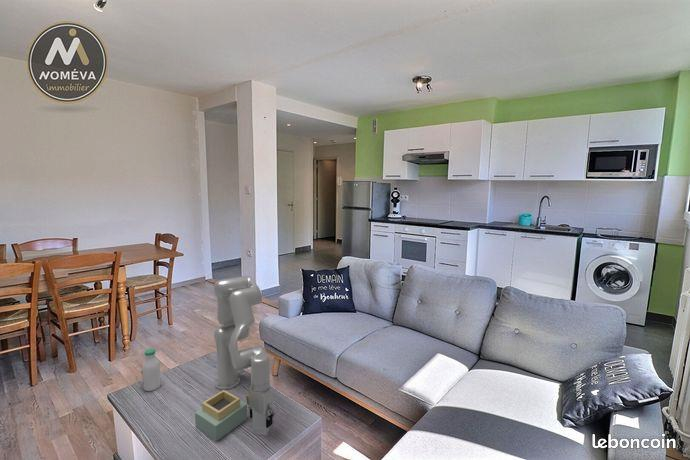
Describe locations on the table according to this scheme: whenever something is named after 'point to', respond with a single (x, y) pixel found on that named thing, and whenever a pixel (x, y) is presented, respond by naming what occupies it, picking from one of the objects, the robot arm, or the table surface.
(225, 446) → the table surface
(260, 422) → the skincare box
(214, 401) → the green yellow rimmed box
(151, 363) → the milk bottle
